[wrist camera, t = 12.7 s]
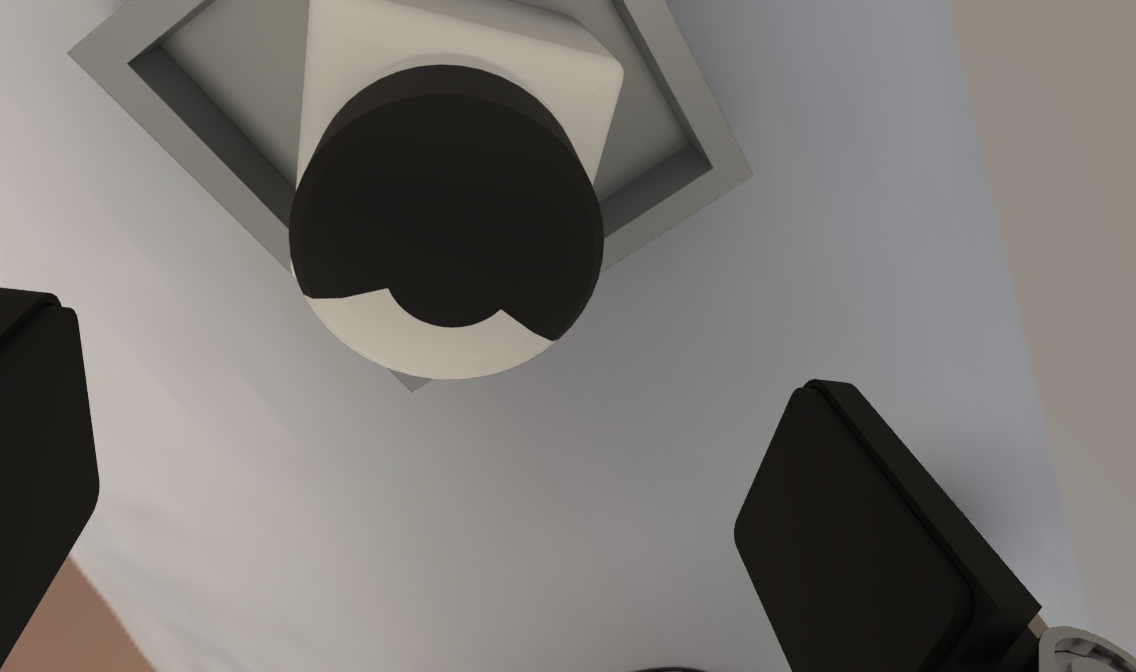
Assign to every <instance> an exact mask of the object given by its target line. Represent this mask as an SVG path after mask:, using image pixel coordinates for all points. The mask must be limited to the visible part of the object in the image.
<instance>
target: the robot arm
mask: <svg viewBox="0 0 1136 672" xmlns="http://www.w3.org/2000/svg"><path fill="white" fill-rule="evenodd" d="M98 495H99V475H98V467H97V460H96V452H95V445H94V437H93V430H92V422H91V415H90V407H89V399H88V392H87V384H86V377H85V369H84V362H83V354H82V347H81V339H80V332H79V324H78V319H77V315H76V313H75V311H74V310H73V309H72V308H67V307H62V306H61V303H60V301H59V299H58V298H57V296H55V295H54V294H52V293H44V292H35V291H26V290H17V289H8V288H0V669H1V667H2V665H3V663H4V662H5V660H6V658H7V657H8V655H9V653H10V652H11V650H12V648H13V647H14V645H15V643H16V642H17V640H18V638H19V636H20V635H21V633H22V631H23V630H24V628H25V626H26V625H27V623H28V621H29V619H30V618H31V616H32V615H33V613H34V611H35V610H36V608H37V606H38V604H39V603H40V601H41V599H42V598H43V596H44V594H45V593H46V591H47V589H48V588H49V586H50V584H51V583H52V581H53V579H54V578H55V576H56V574H57V572H58V571H59V569H60V567H61V566H62V564H63V562H64V561H65V559H66V557H67V556H68V554H69V552H70V551H71V549H72V547H73V546H74V544H75V542H76V540H77V539H78V537H79V535H80V534H81V532H82V530H83V529H84V527H85V525H86V524H87V522H88V520H89V519H90V517H91V515H92V513H93V511H94V509H95V506H96V503H97V500H98ZM734 538H735V544H736V547H737V549H738V551H739V554H740V556H741V558H742V560H743V563H744V565H745V567H746V569H747V572H748V574H749V576H750V578H751V580H752V583H753V585H754V587H755V589H756V592H757V594H758V596H759V598H760V601H761V603H762V605H763V607H764V610H765V612H766V614H767V616H768V618H769V621H770V623H771V625H772V627H773V630H774V632H775V634H776V636H777V639H778V641H779V643H780V645H781V648H782V650H783V652H784V654H785V656H786V659H787V661H788V663H789V665H790V668H791V670H792V672H1136V658H1134V657H1133V656H1132V655H1130V654H1129V653H1128V652H1126V651H1124V650H1123V649H1121V648H1120V647H1118V646H1116V645H1115V644H1113V643H1111V642H1110V641H1108V640H1106V639H1104V638H1101V637H1099V636H1097V635H1095V634H1092V633H1090V632H1088V631H1085V630H1081V629H1077V628H1072V627H1068V626H1061V627H1051V628H1050V629H1048V630H1047V631H1045V632H1043V633H1042V634H1041V635H1040V637H1039V638H1037V637H1036V636H1035V634H1034V633H1033V632H1032V631H1031V629H1030V628H1029V627H1028V625H1029V623H1030V622H1031V621H1032V620H1033V618H1034V617H1035V616H1036V614H1037V613H1038V612H1039V611H1040V609H1041V608H1042V606H1041V605H1040V604H1039V603H1038V602H1037V601H1036V599H1035V598H1034V597H1033V596H1032V595H1031V593H1030V592H1029V591H1028V590H1027V589H1026V588H1025V586H1024V585H1023V584H1022V583H1021V582H1020V580H1019V579H1018V578H1017V577H1016V576H1015V575H1014V573H1013V572H1012V571H1011V570H1010V569H1009V567H1008V566H1007V565H1006V564H1005V563H1004V562H1003V560H1002V559H1001V558H1000V557H999V556H998V554H997V553H996V552H995V551H994V550H993V549H992V547H991V546H990V545H989V544H988V543H987V541H986V540H985V539H984V538H983V537H982V536H981V534H980V533H979V532H978V531H977V530H976V528H975V527H974V526H973V525H972V524H971V523H970V521H969V520H968V519H967V518H966V517H965V515H964V514H963V513H962V512H961V511H960V510H959V508H958V507H957V506H956V505H955V504H954V502H953V501H952V500H951V499H950V498H949V497H948V495H947V494H946V493H945V492H944V491H943V489H942V488H941V487H940V486H939V485H938V484H937V482H936V481H935V480H934V479H933V478H932V476H931V475H930V474H929V473H928V472H927V471H926V469H925V468H924V467H923V466H922V465H921V464H920V462H919V461H918V460H917V459H916V458H915V456H914V455H913V454H912V453H911V452H910V451H909V449H908V448H907V447H906V446H905V445H904V443H903V442H902V441H901V440H900V439H899V438H898V436H897V435H896V434H895V433H894V432H893V430H892V429H891V428H890V427H889V426H888V425H887V423H886V422H885V421H884V420H883V419H882V417H881V416H880V415H879V414H878V413H877V412H876V410H875V409H874V408H873V407H872V406H871V404H870V403H869V402H868V401H867V400H866V399H865V397H864V396H863V395H862V394H861V393H860V391H859V390H858V389H857V388H856V387H855V386H854V385H852V384H850V383H845V382H836V381H827V380H819V379H813V380H810V381H808V382H807V383H806V384H805V385H804V386H803V388H802V387H800V388H797V389H796V390H795V391H794V392H793V394H792V395H791V397H790V400H789V402H788V404H787V406H786V409H785V411H784V413H783V415H782V418H781V420H780V422H779V424H778V427H777V429H776V431H775V433H774V436H773V438H772V440H771V443H770V445H769V447H768V449H767V452H766V454H765V456H764V458H763V461H762V463H761V465H760V467H759V470H758V472H757V474H756V477H755V479H754V481H753V483H752V486H751V488H750V490H749V492H748V495H747V497H746V499H745V501H744V504H743V506H742V508H741V510H740V513H739V515H738V517H737V520H736V523H735V528H734ZM665 672H681V671H665Z"/></svg>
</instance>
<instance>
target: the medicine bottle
mask: <svg viewBox="0 0 1136 672" xmlns="http://www.w3.org/2000/svg"><path fill="white" fill-rule="evenodd" d="M623 76H624V70H623V68H622V66H621V64H620V62H619V61H618V60H617V59H616V58H615V57H614V56H613V55H612V54H611V53H610V52H609V51H608V50H607V49H606V48H605V47H604V46H603V45H602V44H601V43H600V42H599V41H598V40H597V39H596V38H595V37H594V36H593V35H592V34H591V33H590V32H589V31H588V30H587V29H586V28H585V27H584V26H583V25H582V24H581V23H580V22H579V21H578V20H576V19H575V18H573V17H570V16H566V15H562V14H558V13H555V12H551V11H547V10H543V9H540V8H536V7H532V6H528V5H525V4H521V3H517V2H513V1H510V0H310V4H309V18H308V32H307V45H306V59H305V73H304V87H303V100H302V114H301V128H300V141H299V155H298V169H297V182H296V192H295V196H294V200H293V204H292V208H291V212H290V222H289V246H290V256H291V264H290V266H291V271H292V275H293V276H294V277H295V278H296V279H297V281H298V283H299V285H300V288H301V290H302V292H303V295H304V296H305V298H306V300H307V301H308V303H309V305H310V306H311V308H312V310H313V311H314V313H315V314H316V315H317V316H318V318H319V319H320V320H321V321H322V322H323V324H324V325H325V326H326V327H327V328H328V329H329V330H330V331H331V332H332V333H333V334H334V335H335V336H336V337H337V338H338V339H339V340H340V341H342V342H343V343H344V344H346V345H347V346H348V347H350V348H351V349H353V350H354V351H355V352H357V353H358V354H360V355H362V356H364V357H365V358H367V359H369V360H371V361H373V362H375V363H377V364H379V365H382V366H384V367H387V368H389V369H392V370H394V371H398V372H401V373H405V374H409V375H412V376H418V377H425V378H431V379H451V380H453V379H467V378H475V377H481V376H486V375H491V374H495V373H498V372H501V371H504V370H507V369H510V368H513V367H515V366H517V365H519V364H522V363H524V362H526V361H528V360H530V359H531V358H533V357H535V356H536V355H538V354H540V353H541V352H543V351H544V350H546V349H547V348H548V347H549V346H551V345H552V344H553V343H555V342H556V341H557V340H558V339H559V338H560V337H561V336H562V335H563V334H564V333H565V332H566V331H567V330H568V329H569V328H570V327H571V326H572V325H573V324H574V322H575V321H576V320H577V318H578V317H579V316H580V314H581V313H582V312H583V310H584V308H585V306H586V305H587V303H588V301H589V299H590V297H591V296H592V293H593V291H594V288H595V286H596V283H597V280H598V278H599V273H600V269H601V265H602V260H603V250H604V230H603V219H602V215H601V210H600V206H599V202H598V199H597V196H596V194H595V191H594V189H593V183H594V180H595V176H596V173H597V169H598V166H599V162H600V159H601V155H602V152H603V148H604V145H605V141H606V138H607V134H608V131H609V127H610V124H611V120H612V117H613V113H614V110H615V106H616V103H617V99H618V96H619V92H620V89H621V85H622V82H623Z"/></svg>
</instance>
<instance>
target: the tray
mask: <svg viewBox="0 0 1136 672" xmlns="http://www.w3.org/2000/svg"><path fill="white" fill-rule="evenodd" d="M510 1H513V2H517V3H521V4H525V5H528V6H532V7H536V8H540V9H543V10H547V11H551V12H555V13H558V14H562V15H566V16H570V17H573V18H575V19H576V20H578V21H579V22H580V23H581V24H582V25H583V26H584V27H585V28H586V29H587V30H588V31H589V32H590V33H591V34H592V35H593V36H594V37H595V38H596V39H597V40H598V41H599V42H600V43H601V44H602V45H603V46H604V47H605V48H606V49H607V50H608V51H609V52H610V53H611V54H612V55H613V56H614V57H615V58H616V59H617V60H618V61H619V62H620V64H621V66H622V68H623V70H624V76H623V82H622V85H621V89H620V92H619V96H618V99H617V103H616V106H615V110H614V113H613V117H612V120H611V124H610V127H609V131H608V134H607V138H606V141H605V145H604V148H603V152H602V155H601V159H600V162H599V166H598V169H597V173H596V176H595V180H594V183H593V189H594V191H595V194H596V196H597V199H598V202H599V206H600V210H601V215H602V219H603V230H604V250H603V260H602V265H601V269H600V273H601V272H602V271H604V270H605V269H607V268H608V267H610V266H612V265H613V264H615V263H616V262H618V261H619V260H621V259H623V258H624V257H626V256H627V255H629V254H630V253H632V252H634V251H635V250H637V249H638V248H640V247H641V246H643V245H645V244H646V243H648V242H649V241H651V240H652V239H654V238H656V237H657V236H659V235H660V234H662V233H663V232H665V231H667V230H668V229H670V228H671V227H673V226H674V225H676V224H678V223H679V222H681V221H682V220H684V219H685V218H687V217H689V216H690V215H692V214H693V213H695V212H697V211H698V210H700V209H701V208H703V207H704V206H706V205H708V204H709V203H711V202H712V201H714V200H715V199H717V198H719V197H720V196H722V195H723V194H725V193H726V192H728V191H730V190H731V189H733V188H734V187H736V186H737V185H739V184H741V183H742V182H744V181H745V180H747V179H748V178H750V177H752V176H753V173H752V171H751V169H750V167H749V165H748V163H747V161H746V159H745V157H744V155H743V153H742V151H741V149H740V147H739V145H738V144H737V142H736V140H735V138H734V136H733V134H732V132H731V130H730V128H729V126H728V124H727V122H726V120H725V118H724V116H723V114H722V112H721V110H720V108H719V106H718V104H717V102H716V100H715V98H714V96H713V94H712V92H711V90H710V88H709V86H708V84H707V82H706V80H705V78H704V76H703V74H702V72H701V70H700V68H699V66H698V64H697V62H696V60H695V58H694V56H693V54H692V52H691V51H690V49H689V47H688V45H687V43H686V41H685V39H684V37H683V35H682V33H681V31H680V29H679V27H678V25H677V23H676V21H675V19H674V17H673V15H672V13H671V11H670V9H669V7H668V5H667V3H666V1H665V0H510ZM309 4H310V0H129V1H128V2H127V3H125V4H124V5H123V6H122V7H121V8H119V9H118V10H117V11H116V12H115V13H113V14H112V15H111V16H110V17H109V18H107V19H106V20H105V21H104V22H103V23H102V24H100V25H99V26H98V27H97V28H96V29H94V30H93V31H92V32H91V33H90V34H88V35H87V36H86V37H85V38H84V39H82V40H81V41H80V42H79V43H78V44H76V45H75V46H74V47H73V48H72V49H71V50H69V51H68V52H67V54H68V55H69V56H70V57H71V58H72V59H73V60H74V61H75V62H76V63H77V64H78V65H79V66H80V67H81V68H82V69H83V70H84V71H86V72H87V73H88V74H89V75H90V76H91V77H92V78H93V79H94V80H95V81H96V82H97V83H98V84H99V85H100V86H101V87H102V88H103V89H104V90H105V91H106V92H107V93H108V94H109V95H110V96H111V97H112V98H113V99H114V100H115V101H116V102H117V103H118V104H119V105H120V106H121V107H122V108H123V109H124V110H125V111H126V112H127V113H128V114H129V115H130V116H131V117H132V118H133V119H134V120H135V121H136V122H137V123H138V124H139V125H140V126H141V127H142V128H143V129H144V130H146V131H147V132H148V133H149V134H150V135H151V136H152V137H153V138H154V139H155V140H156V141H157V142H158V143H159V144H160V145H161V146H162V147H163V148H164V149H165V150H166V151H167V152H168V153H169V154H170V155H171V156H172V157H173V158H174V159H175V160H176V161H177V162H178V163H179V164H180V165H181V166H182V167H183V168H184V169H185V170H186V171H187V172H188V173H189V174H190V175H191V176H192V177H193V178H194V179H195V180H196V181H197V182H198V183H199V184H200V185H201V186H202V187H203V188H204V189H206V190H207V191H208V192H209V193H210V194H211V195H212V196H213V197H214V198H215V199H216V200H217V201H218V202H219V203H220V204H221V205H222V206H223V207H224V208H225V209H226V210H227V211H228V212H229V213H230V214H231V215H232V216H233V217H234V218H235V219H236V220H237V221H238V222H239V223H240V224H241V225H242V226H243V227H244V228H245V229H246V230H247V231H248V232H249V233H250V234H251V235H252V236H253V237H254V238H255V239H256V240H257V241H258V242H259V243H260V244H261V245H262V246H263V247H264V248H266V249H267V250H268V251H269V252H270V253H271V254H272V255H273V256H274V257H275V258H276V259H277V260H278V261H279V262H280V263H281V264H282V265H283V266H284V267H285V268H286V269H287V270H288V271H289V272H290V273H291V274H292V271H291V266H290V264H291V256H290V246H289V222H290V212H291V208H292V204H293V200H294V196H295V192H296V182H297V169H298V155H299V141H300V128H301V114H302V100H303V87H304V73H305V59H306V45H307V32H308V18H309ZM388 369H389V368H388ZM389 370H390V371H391V372H392V373H393V374H394V375H395V376H396V377H397V378H398V379H399V380H400V381H401V382H402V383H403V384H404V385H405V386H406V387H407V388H408V389H409V390H410V391H411V392H413V391H415V390H417V389H418V388H420V387H421V386H423V385H425V384H426V383H428V382H429V381H431V380H432V379H431V378H425V377H418V376H412V375H409V374H405V373H401V372H398V371H394V370H392V369H389Z"/></svg>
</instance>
